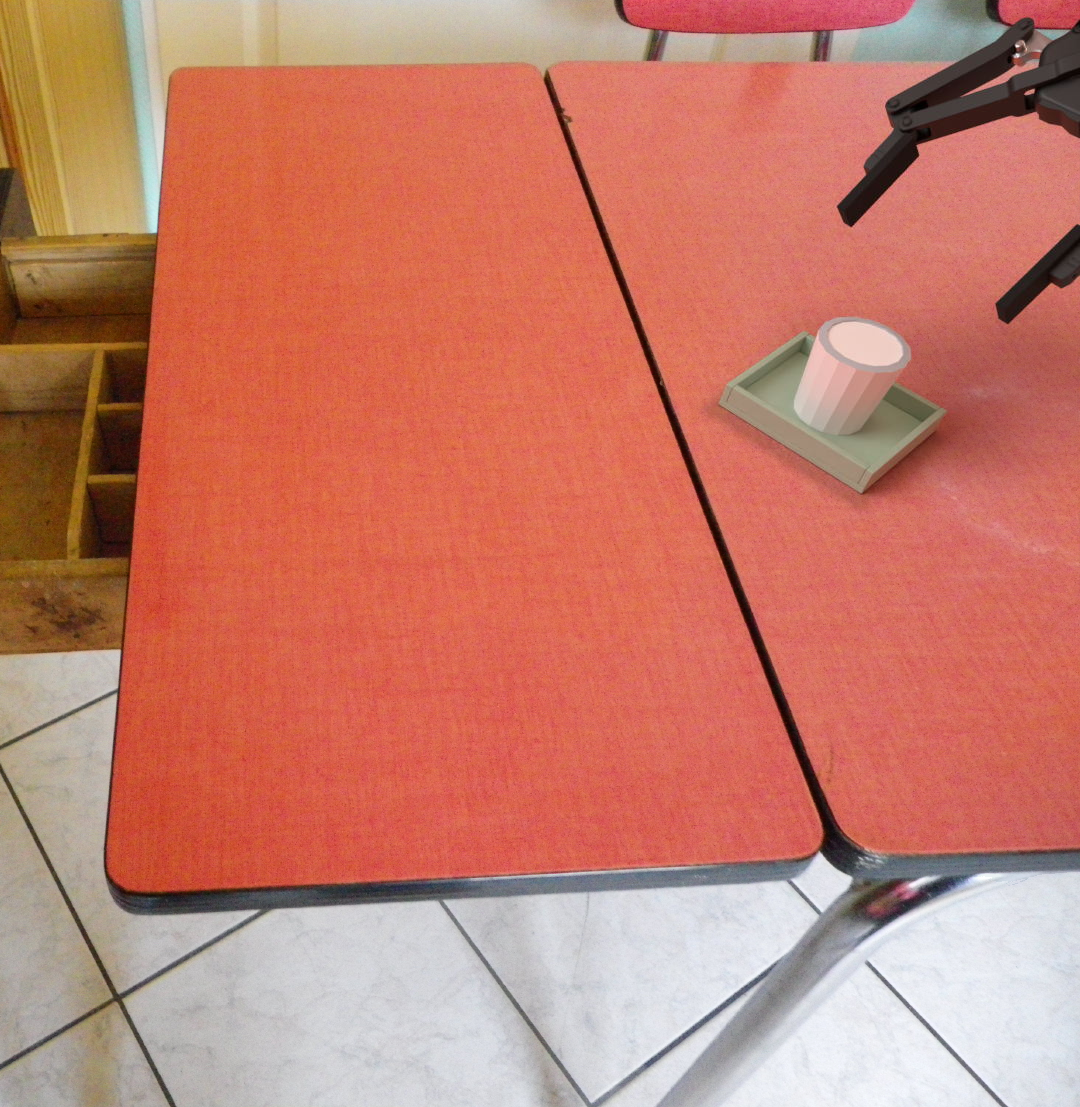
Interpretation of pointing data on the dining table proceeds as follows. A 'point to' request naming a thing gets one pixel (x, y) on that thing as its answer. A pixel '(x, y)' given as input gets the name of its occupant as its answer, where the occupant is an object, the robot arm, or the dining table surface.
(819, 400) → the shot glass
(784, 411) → the green tray
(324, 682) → the dining table surface
